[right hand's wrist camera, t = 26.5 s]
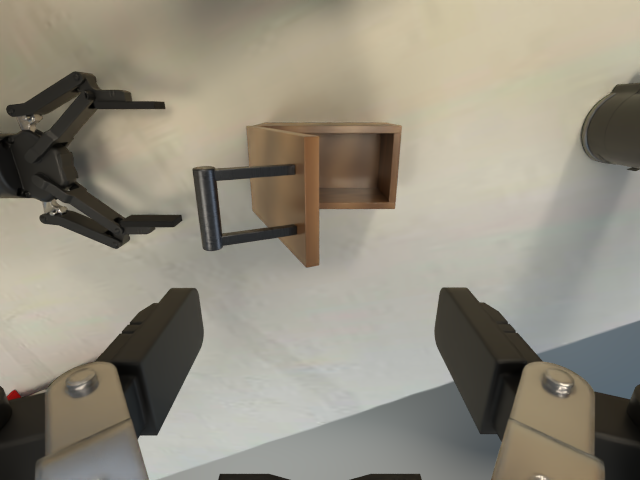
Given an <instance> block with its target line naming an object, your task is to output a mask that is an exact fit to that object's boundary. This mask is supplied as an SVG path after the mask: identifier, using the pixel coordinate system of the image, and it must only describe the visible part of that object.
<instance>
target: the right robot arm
mask: <svg viewBox="0 0 640 480" xmlns="http://www.w3.org/2000/svg"><path fill="white" fill-rule="evenodd" d="M582 144H583V147H584V150H585V151H586V153H587V154H588V155H589V156H590V157H591V158H592V159H594V160H596V161H598V162H602V163H608V164H615V165H616V164H617V165H623V166H628V167H632V168H629V169H627V170H632V171H637V170H640V83H632V84H620V85H617V86H616V87H615V89H614V91H613V92H612V93H611V94H609V95H607V96H606V97H604V98H603V99H602V100H600V101H599V102H598V103H597V104H596V105H595V106H594V107H593V109H592V110H591V111H590V113H589V114H588V116H587V118H586V120H585V122H584V125H583V129H582ZM203 336H204V329H203V321H202V314H201V307H200V300H199V294H198V291H197V289H196V288H171V289H170V290H169V291H168V292H167V293H166V295H165V296H164V297H163V298H162V299H161V301H160V302H159V303H153V304H152V305H150V306H148V307H147V308H145V309H144V310H142V311H140V312H139V313H138V314H137V315H136V316H135V317H134V319H133V320H132V321H131V322H130V325H127V326H126V328H125V329H124V330H123V331H122V334H119V335H118V336H117V338H116V339H115V340H114V341H113V342H112V343H111V344H110V345H109V347H108V348H107V349H106V350H105V351H104V352H103V353H102V354H101V356H100V357H99V358H98V359H97V360H96V361H95V362H91V363H87V364H84V365H80V366H78V367H75V368H73V369H71V370H69V371H67V372H65V373H64V374H62V375H61V376H59V377H58V378H57V379H56V380H54V381H53V382H52V384H51V385H50V386H49V387H48V389H47V391H46V392H44V393H39V394H35V395H30V396H26V397H21V398H17V399H12V400H8V399H7V396H6V394H5V392H4V389H3V388H2V387H1V386H0V480H149V478H148V475H147V471H146V468H145V464H144V461H143V457H142V454H141V450H140V447H139V443H138V438H139V436H140V435H158V433H159V431H160V429H161V427H162V425H163V423H164V421H165V419H166V417H167V415H168V413H169V411H170V409H171V407H172V405H173V403H174V401H175V399H176V397H177V395H178V393H179V391H180V389H181V387H182V385H183V383H184V381H185V379H186V377H187V375H188V373H189V371H190V369H191V367H192V365H193V363H194V361H195V359H196V357H197V355H198V353H199V351H200V349H201V346H202V343H203ZM435 341H436V345H437V347H438V350H439V352H440V354H441V356H442V358H443V360H444V362H445V364H446V366H447V368H448V370H449V372H450V374H451V376H452V378H453V380H454V382H455V384H456V386H457V388H458V390H459V392H460V394H461V396H462V398H463V400H464V402H465V404H466V406H467V408H468V410H469V412H470V414H471V416H472V418H473V420H474V422H475V424H476V426H477V428H478V430H479V432H480V434H498V436H499V438H500V440H501V442H502V444H501V447H500V450H499V454H498V457H497V461H496V464H495V468H494V471H493V475H492V478H491V480H640V385H638V386H636V387H635V390H634V392H633V394H632V397H631V399H625V398H621V397H617V396H612V395H607V394H603V393H598V392H594V391H593V389H592V387H591V386H590V385H589V384H588V382H587V381H586V380H584V379H583V378H582V377H581V376H579V375H578V374H576V373H575V372H573V371H571V370H569V369H567V368H565V367H562V366H560V365H556V364H553V363H548V362H543V361H542V360H541V359H540V358H539V357H538V355H537V354H536V353H535V352H534V351H533V350H532V349H531V348H530V346H529V345H528V344H527V343H526V342H525V341H524V340H523V339H522V337H521V336H520V335H519V334H518V333H516V332H515V330H514V328H513V327H512V326H511V325H510V324H508V322H507V320H506V319H505V318H504V317H503V316H502V315H501V314H500V313H499V311H497V310H495V309H494V308H492V307H490V306H489V305H487V304H486V303H479V301H478V300H477V299H476V298H475V297H474V295H473V294H472V293H471V292H470V291H469V289H468V288H442V289H441V291H440V294H439V301H438V308H437V315H436V322H435ZM218 480H289V479H285V478H282V477H278V476H275V475H271V474H220V476H219V479H218ZM351 480H422V479H421V476H420V474H369V475H365V476H362V477H358V478H354V479H351Z"/></svg>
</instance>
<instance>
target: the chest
mask: <svg viewBox="0 0 640 480" xmlns="http://www.w3.org/2000/svg"><path fill="white" fill-rule="evenodd" d="M254 126H259V127H265V128H272V129H278V130H284V131H290V132H296V133H302V134H309V135H315V136H319V209H395V202H396V191H397V178H398V166H399V154H400V141H401V129H402V126H400V125H395V124H390V123H262V124H258V125H254Z"/></svg>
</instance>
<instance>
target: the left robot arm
mask: <svg viewBox="0 0 640 480" xmlns="http://www.w3.org/2000/svg"><path fill="white" fill-rule="evenodd" d="M96 82H97V81H96V77H95V76H94V75H93V74H89V73H83V72H76V71H75V72H72V73H71V74H69V75H68V76H66V77H65V78H63V79H61V80H60V81H58V82H57V83H55V84H54V85H52V86H50V87H49V88H47V89H46V90H44V91H43V92H41V93H40V94H38V95H36V96H35V97H33V98H32V99H30V100H29V101H27V102H25V103H22V104H15V105H9V106H7V108H6V110H7V113H8V114H9V115H10V116H12V117H16V118H17V120H18V123H19V125H20V128H21V130H22V131H20V132H19V133H17V134H0V198H35V199H38V200H40V201H42V202H43V207H44V212H45V214H42V215H40V221H41V222H42V223H44V224H52V225H60V226H62V227H64V228H67V229H69V230H72V231H74V232H76V233H79V234H81V235H84V236H86V237H88V238H91V239H93V240H95V241H98V242H100V243H103V244H105V245H107V246H110V247H112V248H115V249H118V248H119V247H121V246H122V245H124V244H125V243H127V242H128V241H129V240H130V237H129V234H148V233H151V232H152V231H153V230H155V227H175V226H176V225H177V224H178V223H180V222H181V221H182V216H181V215H130V216H129V217H127V218H124V217H123V216H121V215H120V214H118V213H117V212H116V211H114V210H113V209H111V208H110V207H108V206H107V205H105V204H104V203H103V202H101V201H100V200H98V199H97V198H95V197H94V196H92V195H91V194H90V193H88V192H87V189H86V188H85V187H83V186H82V185H80V184H79V183H77V182H76V178H78V175H77V171H76V169H75V167H74V165H73V155H72V152H69V151H68V149H67V148H66V147H67V146H68V145H69V144H70V143H71V142H72V140H73V139H74V135H75V134H76V133H77V132H78V131H79V130H80V129H81V127H82V126H83V125H84V124H85V123H86V122H87V121H88V119H89V118H90V117H91V116H92V115H93V114H94V113H95V112H96V110H97V109H165V104H164V102H154V101H132V97H131V93H130V92H128V91H123V90H101V89H100V88H99V87H98V86H97V84H96ZM79 94H80V95H79ZM77 95H79V96H78V97H77V98H76V99H75V101H74V102H73V103H72V104H71V105H70V106H69V108H68V109H67V110H66V111H65V112H64V114H63V115H62V116H61V117H60V118H59V119H58V121H57V122H56V123H55V124H54V125H53V126H52V128H51V129H50V130H48V131H46V132H45V133H43V132H41V131H39V130H37V129H36V124H37V123H38V122H40V121H41V120H42V119H43V117H42V115H44V114H48V113H50V112H52V111H53V110H55V109H56V108H58V107H60V106H61V105H63V104H64V103H66V102H68V101H69V100H71V99H73V98H74V97H76V96H77ZM67 190H70V191H67ZM56 199H59V200H60V201H62V202H64V203H69V204H71V205H72V206H74V207H75V208H77V209H78V210H80V211H81V212H83V213H84V214H86V215H87V216H89V217H90V218H88V217H86V216H84V215H81V214H79V213H77V212H74V211H69V210H68V209H67V207H65V206H64V207H63V206H61V205H59V204H58V203H57V202H56ZM91 218H92V219H91Z"/></svg>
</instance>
